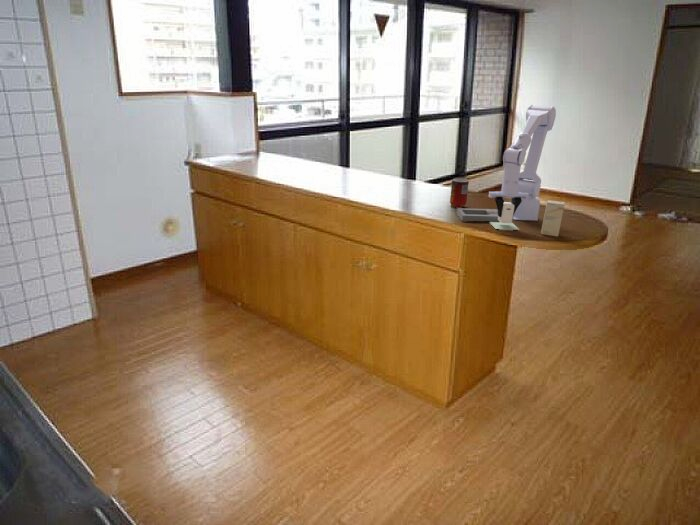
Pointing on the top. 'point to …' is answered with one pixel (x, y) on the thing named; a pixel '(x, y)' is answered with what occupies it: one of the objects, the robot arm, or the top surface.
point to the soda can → (459, 192)
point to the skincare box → (552, 218)
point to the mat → (504, 226)
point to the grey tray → (478, 214)
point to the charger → (507, 213)
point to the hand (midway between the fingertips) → (505, 216)
